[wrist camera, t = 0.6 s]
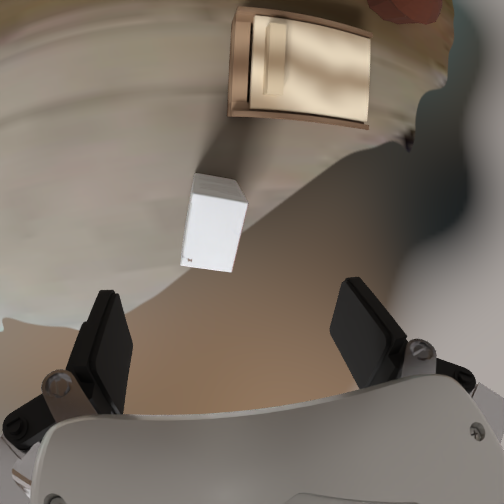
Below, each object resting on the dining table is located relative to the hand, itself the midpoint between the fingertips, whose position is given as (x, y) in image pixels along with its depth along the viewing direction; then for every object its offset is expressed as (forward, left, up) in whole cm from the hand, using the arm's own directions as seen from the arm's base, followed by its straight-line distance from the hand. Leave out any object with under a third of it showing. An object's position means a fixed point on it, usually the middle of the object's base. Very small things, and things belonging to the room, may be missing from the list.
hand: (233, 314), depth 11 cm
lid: (-14, +11, -22) cm, 28 cm away
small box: (+4, 0, -27) cm, 28 cm away
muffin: (-31, +25, -27) cm, 48 cm away
